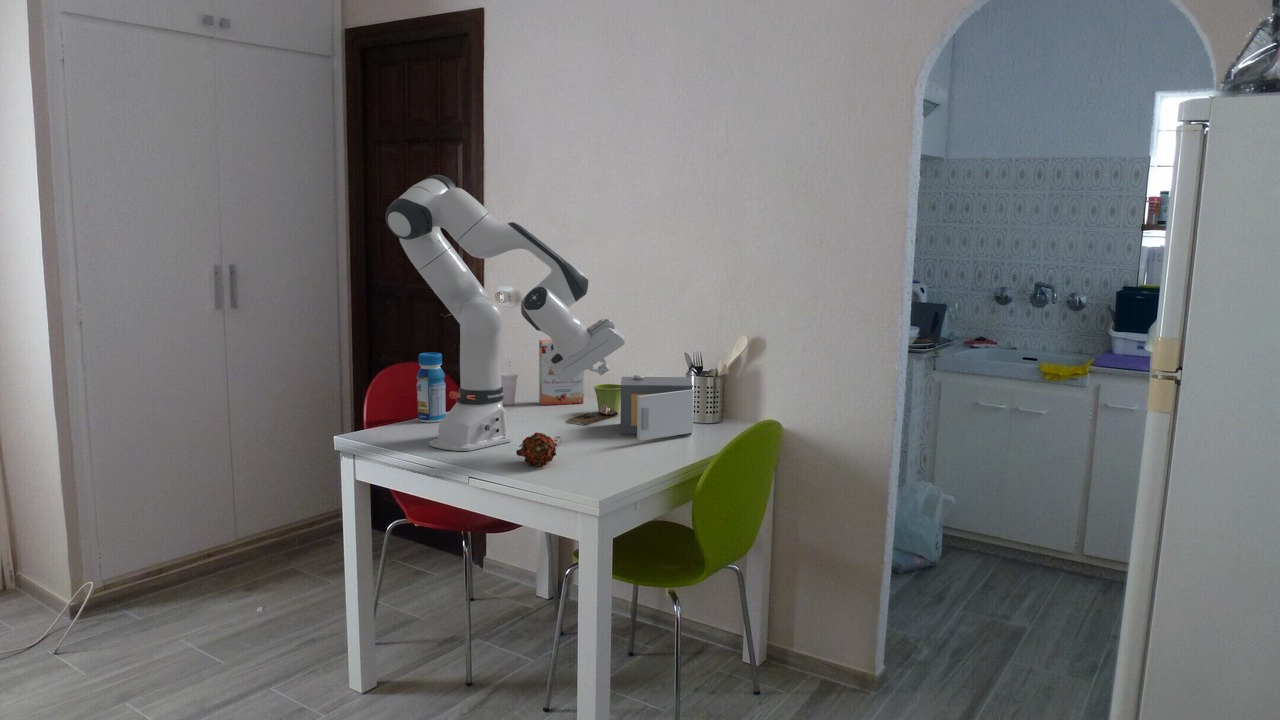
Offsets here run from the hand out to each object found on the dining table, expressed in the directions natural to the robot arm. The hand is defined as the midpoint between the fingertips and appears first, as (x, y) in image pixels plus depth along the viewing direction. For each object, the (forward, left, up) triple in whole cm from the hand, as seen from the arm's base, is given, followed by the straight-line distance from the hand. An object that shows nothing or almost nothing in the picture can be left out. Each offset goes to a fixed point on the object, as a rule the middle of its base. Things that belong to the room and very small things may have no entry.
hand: (605, 371), depth 241 cm
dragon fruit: (-23, +5, -21) cm, 31 cm away
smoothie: (+33, +58, -20) cm, 70 cm away
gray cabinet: (+26, -1, -20) cm, 33 cm away
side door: (+16, -10, -19) cm, 27 cm away
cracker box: (+43, +44, -21) cm, 65 cm away
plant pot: (+37, +22, -21) cm, 48 cm away
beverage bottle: (+1, +62, -20) cm, 65 cm away
